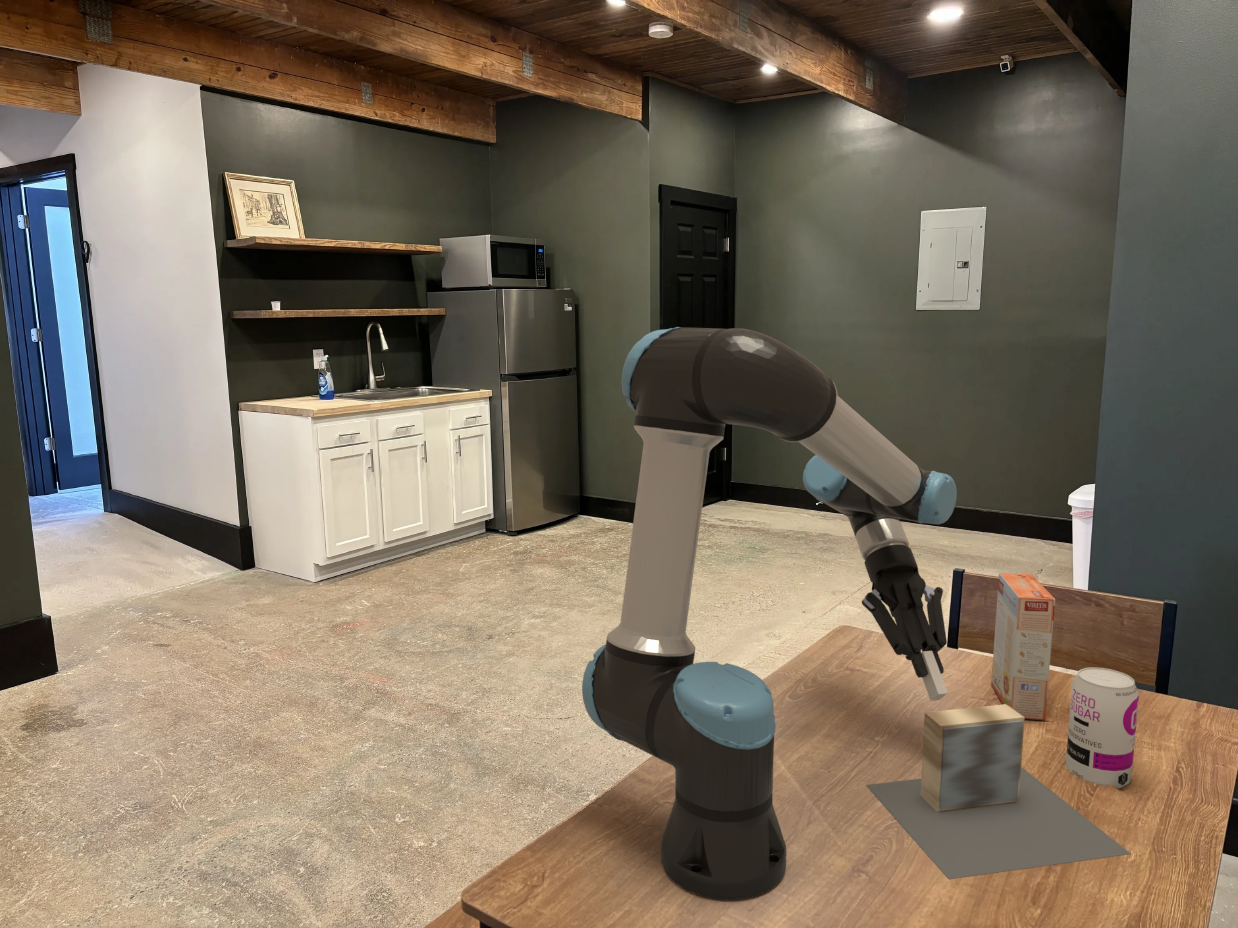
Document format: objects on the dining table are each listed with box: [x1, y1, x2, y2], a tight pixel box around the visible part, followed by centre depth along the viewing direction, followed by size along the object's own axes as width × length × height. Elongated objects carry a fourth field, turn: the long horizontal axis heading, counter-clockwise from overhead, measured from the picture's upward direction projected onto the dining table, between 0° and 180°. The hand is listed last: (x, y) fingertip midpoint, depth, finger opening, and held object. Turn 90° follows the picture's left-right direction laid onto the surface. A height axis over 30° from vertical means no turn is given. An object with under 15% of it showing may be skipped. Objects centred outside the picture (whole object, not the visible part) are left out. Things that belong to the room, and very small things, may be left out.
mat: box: [865, 766, 1132, 880], centre depth 114 cm, size 24×21×1 cm
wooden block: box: [920, 704, 1025, 812], centre depth 117 cm, size 12×4×12 cm, turn 101°
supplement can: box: [1065, 666, 1140, 790], centre depth 124 cm, size 8×8×15 cm
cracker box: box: [990, 572, 1056, 721], centre depth 147 cm, size 14×6×21 cm, turn 168°
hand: (939, 696), depth 126 cm, fingers closed
